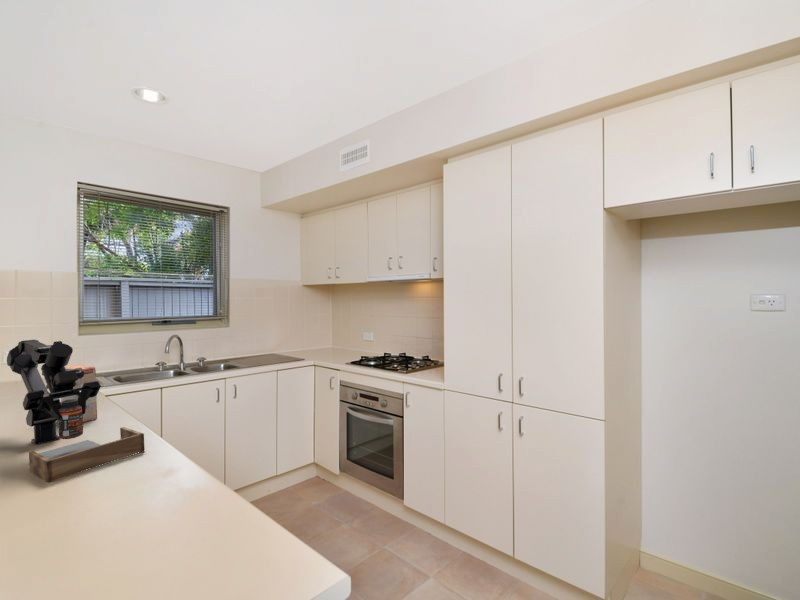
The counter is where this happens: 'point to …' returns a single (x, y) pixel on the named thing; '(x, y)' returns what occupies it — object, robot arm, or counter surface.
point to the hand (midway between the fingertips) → (72, 416)
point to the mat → (68, 449)
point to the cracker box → (88, 377)
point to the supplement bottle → (70, 419)
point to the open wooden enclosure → (86, 457)
